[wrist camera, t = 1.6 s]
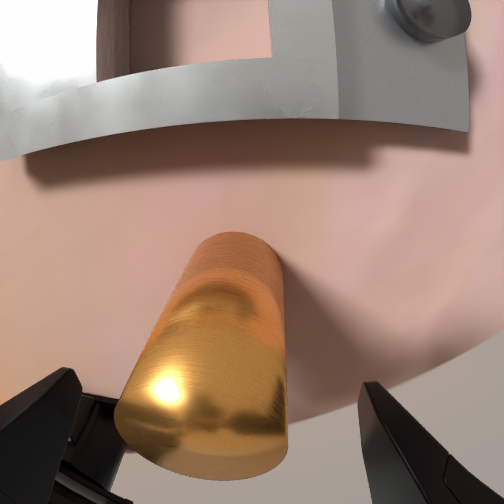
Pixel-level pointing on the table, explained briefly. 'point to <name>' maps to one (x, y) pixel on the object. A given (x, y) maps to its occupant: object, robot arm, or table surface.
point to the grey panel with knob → (230, 70)
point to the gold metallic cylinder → (214, 368)
